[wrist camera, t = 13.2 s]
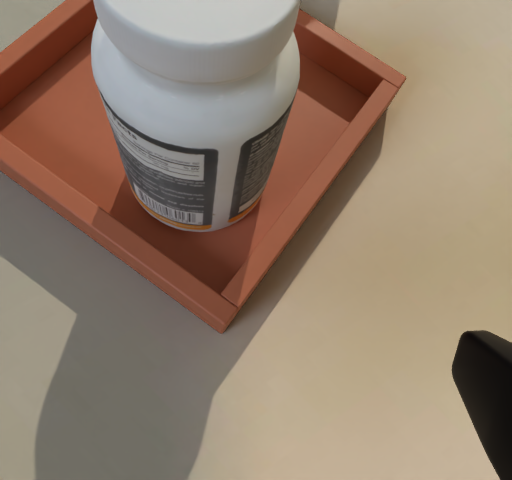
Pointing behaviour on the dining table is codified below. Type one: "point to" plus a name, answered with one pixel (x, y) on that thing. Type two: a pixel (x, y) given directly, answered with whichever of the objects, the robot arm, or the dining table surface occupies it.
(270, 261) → the terracotta tray
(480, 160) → the dining table surface
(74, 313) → the dining table surface
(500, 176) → the dining table surface
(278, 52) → the pill bottle
